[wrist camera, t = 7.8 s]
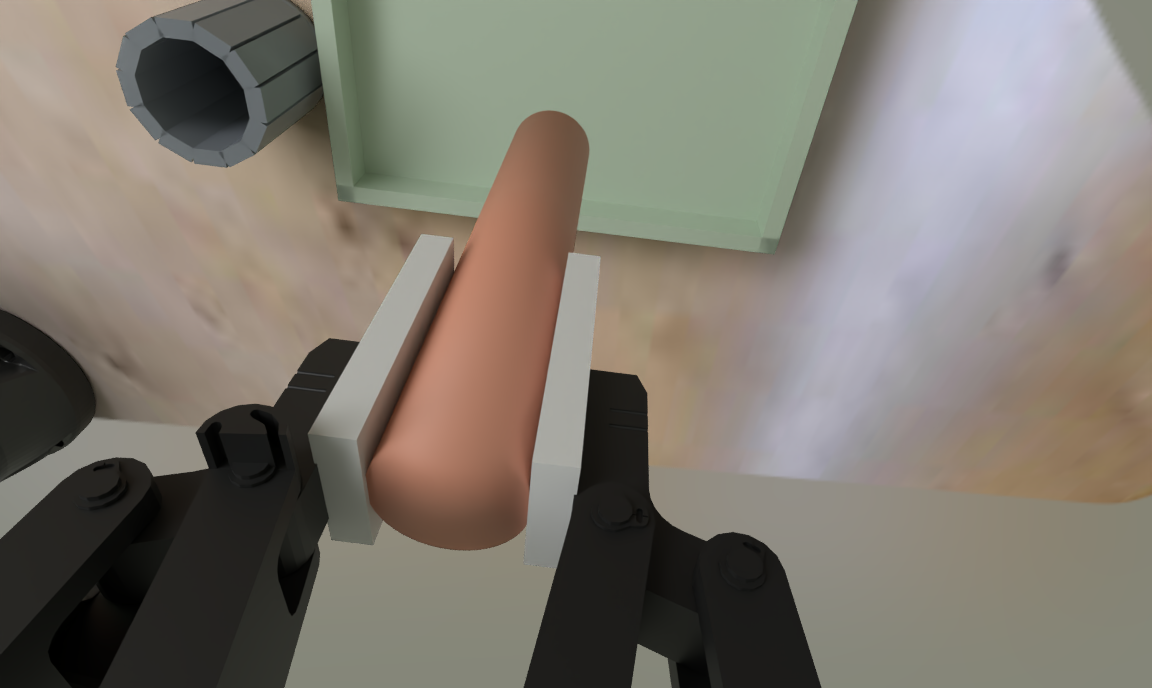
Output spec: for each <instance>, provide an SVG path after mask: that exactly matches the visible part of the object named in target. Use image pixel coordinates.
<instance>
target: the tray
mask: <svg viewBox="0 0 1152 688" xmlns="http://www.w3.org/2000/svg"><path fill="white" fill-rule="evenodd" d="M857 2H858V0H311V4H312V11H313V18H314V26H315V33H316V40H317V47H318V55H319V62H320V69H321V77H322V84H323V91H324V98H325V106H326V113H327V120H328V127H329V135H330V142H331V149H332V157H333V164H334V171H335V178H336V186H337V193H338V200H339V201H346V202H354V203H362V204H370V205H378V206H386V207H394V208H402V209H411V210H419V211H427V212H435V213H443V214H451V215H459V216H467V217H475V218H478V217H479V215H480V212H481V210H482V208H483V206H484V203H485V201H486V199H487V196H488V194H489V192H490V190H491V187H492V185H493V183H494V181H495V178H496V176H497V174H498V171H499V169H500V167H501V165H502V162H503V160H504V158H505V156H506V153H507V151H508V149H509V146H510V144H511V142H512V140H513V137H514V135H515V133H516V130H517V129H518V127H519V125H520V124H521V123H522V122H523V121H524V120H525V119H526V118H527V117H529V116H530V115H532V114H534V113H537V112H540V111H547V110H551V111H558V112H562V113H565V114H567V115H569V116H570V117H572V118H573V119H575V120H576V121H577V122H578V123H579V124H580V125H581V127H582V128H583V130H584V131H585V133H586V135H587V138H588V142H589V149H590V150H589V159H588V165H587V171H586V178H585V184H584V190H583V196H582V202H581V208H580V214H579V221H578V227H577V230H580V231H589V232H597V233H605V234H613V235H621V236H629V237H637V238H645V239H653V240H661V241H669V242H678V243H686V244H694V245H702V246H710V247H718V248H726V249H734V250H742V251H750V252H758V253H767V254H775V251H776V248H777V245H778V242H779V239H780V236H781V233H782V230H783V227H784V224H785V221H786V218H787V214H788V211H789V208H790V205H791V202H792V199H793V196H794V193H795V190H796V187H797V184H798V181H799V178H800V175H801V172H802V169H803V166H804V163H805V160H806V157H807V154H808V151H809V148H810V145H811V141H812V138H813V135H814V132H815V129H816V126H817V123H818V120H819V117H820V114H821V111H822V108H823V105H824V102H825V99H826V96H827V93H828V90H829V87H830V84H831V81H832V78H833V75H834V71H835V68H836V65H837V62H838V59H839V56H840V53H841V50H842V47H843V44H844V41H845V38H846V35H847V32H848V29H849V26H850V23H851V20H852V17H853V14H854V11H855V8H856V5H857Z"/></svg>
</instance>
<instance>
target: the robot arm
mask: <svg viewBox="0 0 1152 688" xmlns="http://www.w3.org/2000/svg"><path fill="white" fill-rule="evenodd" d="M600 258H601V256H593V255H585V254H578V253H570V252H569V253H568V259H567V265H566V271H565V276H564V282H563V288H562V293H561V299H560V305H559V311H558V316H557V322H556V328H555V333H554V339H553V345H552V351H551V356H550V362H549V368H548V373H547V379H546V385H545V391H544V396H543V402H542V408H541V414H540V419H539V425H538V431H537V436H536V442H535V448H534V454H533V459H532V468H531V480H530V492H529V504H528V516H527V529H526V540H525V552H524V564H526V565H535V566H542V567H550V568H557V569H556V573H555V576H554V580H553V583H552V587H551V591H550V594H549V598H548V601H547V605H546V609H545V612H544V616H543V619H542V623H541V627H540V630H539V634H538V638H537V641H536V645H535V648H534V652H533V656H532V659H531V663H530V666H529V670H528V674H527V678H526V681H525V684H524V688H631V684H632V677H633V671H634V664H635V657H636V650H637V643H638V644H640V645H642V646H644V647H646V648H648V649H650V650H652V651H654V652H656V653H659V654H661V655H662V656H664V657H667V658H668V664H669V671H670V678H671V685H672V688H821V685H820V682H819V678H818V675H817V672H816V669H815V666H814V662H813V659H812V656H811V653H810V650H809V646H808V643H807V640H806V637H805V634H804V630H803V627H802V624H801V621H800V618H799V615H798V611H797V608H796V605H795V602H794V599H793V595H792V592H791V589H790V586H789V583H788V580H787V576H786V573H785V570H784V568H783V566H782V565H781V563H780V561H779V559H778V557H777V555H776V554H775V553H773V552H772V551H771V550H770V549H769V548H768V547H767V546H766V545H765V544H764V543H762V542H760V541H758V540H757V539H755V538H753V537H751V536H749V535H745V534H740V533H734V532H731V533H723V534H718V535H716V536H714V537H713V538H711V539H710V540H708V541H705V540H702V539H700V538H698V537H695V536H693V535H691V534H688V533H686V532H684V531H682V530H680V529H678V528H676V527H674V526H672V525H671V524H670V523H669V522H667V521H666V520H665V519H664V518H663V517H662V516H661V515H660V514H659V513H658V511H657V510H656V509H655V507H654V505H653V503H652V501H651V498H650V493H649V467H648V432H647V431H648V416H647V413H648V407H647V392H646V390H645V389H644V387H643V385H642V383H641V382H640V380H639V378H638V376H637V375H630V374H622V373H614V372H606V371H598V370H591V369H590V365H591V354H592V343H593V333H594V322H595V311H596V301H597V290H598V279H599V268H600ZM453 274H454V240H453V238H450V237H442V236H434V235H426V234H421V236H420V237H419V239H418V241H417V243H416V244H415V246H414V248H413V250H412V252H411V253H410V255H409V257H408V259H407V260H406V262H405V264H404V266H403V267H402V269H401V271H400V273H399V274H398V276H397V278H396V280H395V281H394V283H393V285H392V287H391V288H390V290H389V292H388V294H387V295H386V297H385V299H384V301H383V302H382V304H381V306H380V308H379V309H378V311H377V313H376V315H375V317H374V318H373V320H372V322H371V324H370V325H369V327H368V329H367V331H366V332H365V334H364V336H363V338H362V339H361V341H360V342H355V341H347V340H339V339H331V338H329V339H328V340H326V341H325V342H323V343H322V344H321V345H319V346H318V347H316V348H315V349H314V350H312V351H311V352H309V354H308V355H307V357H306V358H305V360H304V361H303V363H302V364H301V366H300V367H299V369H298V370H297V371H298V372H297V374H295V375H294V376H293V378H292V379H291V381H290V382H289V384H288V388H287V389H285V390H284V392H283V393H282V395H281V396H280V398H279V399H278V401H277V402H276V404H275V405H274V407H271V406H266V405H260V404H248V405H238V406H235V407H232V408H229V409H226V410H223V411H220V412H219V413H217V414H216V415H214V416H212V417H211V418H209V419H208V420H206V421H205V422H204V423H203V424H202V426H201V427H200V428H199V429H198V430H197V432H196V435H197V438H198V440H199V443H200V446H201V448H202V451H203V454H204V456H205V459H206V461H207V464H208V467H209V469H204V470H199V471H195V472H187V473H179V474H171V475H164V476H156V477H153V475H152V473H151V472H150V470H149V469H148V467H147V466H146V464H145V463H142V462H140V461H138V460H135V459H133V458H112V459H106V460H101V461H97V462H94V463H92V464H90V465H88V466H85V467H83V468H81V469H78V470H77V471H75V472H74V473H73V474H71V475H70V476H69V477H67V478H66V479H64V480H63V481H62V482H61V483H60V484H58V485H57V486H56V487H55V488H54V489H53V490H52V491H51V492H50V493H49V494H48V495H47V496H46V497H45V498H44V499H43V500H41V501H40V502H39V503H38V504H37V505H36V506H35V507H34V508H33V509H32V510H31V511H30V512H29V513H28V514H27V515H25V517H23V518H22V519H21V520H20V521H19V522H18V523H17V524H16V525H15V526H14V527H13V528H12V529H11V530H10V531H9V532H7V533H6V534H5V535H4V536H3V537H2V538H1V539H0V688H284V687H285V683H286V680H287V676H288V673H289V669H290V666H291V662H292V659H293V655H294V652H295V648H296V645H297V641H298V638H299V634H300V631H301V627H302V623H303V620H304V617H305V613H306V610H307V606H308V603H309V599H310V596H311V592H312V589H313V585H314V582H315V578H316V574H317V571H318V567H319V560H320V559H319V558H320V551H319V547H318V541H319V539H320V537H321V535H322V532H323V530H324V528H325V526H326V524H327V522H328V527H329V531H330V536H331V540H335V541H344V542H351V543H360V544H367V545H373V544H374V542H375V539H376V537H377V534H378V531H379V529H380V526H381V523H382V521H383V519H381V518H380V517H379V515H378V514H377V513H376V512H375V511H374V509H373V508H372V506H371V505H370V501H369V495H368V488H367V482H366V472H367V470H368V467H369V465H370V463H371V461H372V458H373V456H374V454H375V451H376V449H377V447H378V445H379V442H380V440H381V438H382V436H383V433H384V431H385V429H386V426H387V424H388V422H389V420H390V417H391V415H392V413H393V410H394V408H395V406H396V404H397V401H398V399H399V397H400V395H401V392H402V390H403V388H404V385H405V383H406V381H407V379H408V376H409V374H410V372H411V370H412V367H413V365H414V363H415V360H416V358H417V356H418V354H419V351H420V349H421V347H422V344H423V342H424V340H425V338H426V335H427V333H428V331H429V329H430V326H431V324H432V322H433V319H434V317H435V315H436V313H437V310H438V308H439V306H440V303H441V301H442V299H443V297H444V294H445V292H446V290H447V288H448V285H449V283H450V281H451V278H452V276H453ZM94 412H95V399H94V395H93V391H92V389H91V386H90V384H89V382H88V380H87V378H86V377H85V375H84V374H83V372H82V371H81V369H80V368H79V367H78V366H77V364H76V363H75V362H74V361H73V360H72V359H71V357H70V356H69V355H68V354H67V353H66V352H65V351H64V350H63V349H61V348H60V347H59V346H58V345H57V344H56V343H55V342H53V341H52V340H51V339H50V338H48V337H47V336H46V335H44V334H43V333H41V332H40V331H38V330H37V329H35V328H34V327H32V326H31V325H29V324H27V323H26V322H24V321H22V320H20V319H18V318H17V317H15V316H13V315H11V314H9V313H6V312H4V311H2V310H0V482H1V481H3V480H5V479H7V478H9V477H11V476H13V475H14V474H16V473H18V472H20V471H22V470H24V469H26V468H27V467H29V466H31V465H33V464H34V463H36V462H38V461H40V460H41V459H43V458H44V457H46V456H47V455H49V454H52V453H55V452H57V451H59V450H61V449H62V448H64V447H66V446H67V445H68V444H70V443H71V442H72V441H73V440H74V439H75V438H76V437H77V436H78V435H79V434H80V433H81V431H83V430H84V429H85V428H86V427H87V425H88V424H89V423H90V422H91V420H92V418H93V416H94Z"/></svg>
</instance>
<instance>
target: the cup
mask: <svg viewBox="0 0 1152 688" xmlns="http://www.w3.org/2000/svg"><path fill="white" fill-rule="evenodd" d="M125 34H126V35H125V36H123V39H122V44H121V48H120V52H119V56H118V60H117V64H116V67H117V68H119V69H118V70H116V72H117V75H118V78H119V81H120V84H121V87H122V90H123V93H124V96H125V99H126V103H127V106H131V107H133V108H131V109H130V111H131V112H132V113H133V114H134V115H135V117H136V118H137V119H138V120H139V121H140V123H141V124H142V125H143V126H144V127H145V129H146V130H147V131H148V132H149V133H150V135H151V136H152V137H153V138H154V139H155V140H157V139H159V138H160V139H159V144H161V145H162V146H164V147H166V148H168V149H169V150H171V151H173V152H174V153H176V154H178V155H179V156H181V157H183V158H185V159H186V160H188V161H190V162H192V161H194V163H195V164H202V165H210V166H218V167H226V168H227V167H228V166H229V167H231V166H233V165H235V164H237V163H239V162H241V161H243V160H245V159H247V158H249V157H251V156H253V155H255V154H256V153H257V152H259V151H260V150H261V149H263V148H264V147H265V146H266V145H268V144H269V143H270V142H271V141H273V140H274V139H275V138H276V137H278V136H279V135H280V134H282V133H283V132H284V131H285V130H287V129H288V128H289V127H290V126H292V125H293V124H294V123H295V122H297V121H298V120H299V119H300V118H302V117H303V116H304V115H306V114H307V113H308V112H309V111H311V110H312V109H313V108H314V107H315V106H316V105H317V103H318V102H319V100H320V99H321V98H322V96H323V95H324V91H323V84H322V77H321V69H320V62H319V55H318V47H317V40H316V33H315V26H314V24H313V22H312V21H311V20H310V19H309V17H308V16H307V15H306V14H305V13H304V12H303V11H302V10H301V9H300V8H299V7H298V6H296V5H295V4H294V3H293V2H291V1H290V0H201V1H198V2H195V3H192V4H189V5H186V6H183V7H180V8H177V9H175V10H172V11H169V12H166V13H163V14H160V15H157V16H154V17H151V18H149V19H148V20H146V21H144V22H143V23H141V24H140V25H138V26H136V27H135V28H133V29H132V30H130V31H128V32H127V33H125Z"/></svg>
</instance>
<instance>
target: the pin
mask: <svg viewBox="0 0 1152 688" xmlns="http://www.w3.org/2000/svg"><path fill="white" fill-rule="evenodd" d="M589 150H590V149H589V142H588V138H587V135H586V133H585V131H584V130H583V128H582V127H581V125H580V124H579V123H578V122H577V121H576V120H575V119H573V118H572V117H570V116H569V115H567V114H565V113H562V112H558V111H551V110H547V111H540V112H537V113H534V114H532V115H530V116H529V117H527V118H526V119H525V120H524V121H523V122H522V123H521V124H520V125H519V127H518V129H517V130H516V133H515V135H514V137H513V140H512V142H511V144H510V146H509V149H508V151H507V153H506V156H505V158H504V160H503V162H502V165H501V167H500V169H499V171H498V174H497V176H496V178H495V181H494V183H493V185H492V187H491V190H490V192H489V194H488V196H487V199H486V201H485V203H484V206H483V208H482V210H481V212H480V215H479V217H478V219H477V222H476V224H475V226H474V228H473V231H472V233H471V235H470V237H469V240H468V242H467V244H466V247H465V249H464V251H463V253H462V256H461V258H460V260H459V263H458V265H457V267H456V269H455V272H454V274H453V276H452V278H451V281H450V283H449V285H448V288H447V290H446V292H445V294H444V297H443V299H442V301H441V303H440V306H439V308H438V310H437V313H436V315H435V317H434V319H433V322H432V324H431V326H430V329H429V331H428V333H427V335H426V338H425V340H424V342H423V344H422V347H421V349H420V351H419V354H418V356H417V358H416V360H415V363H414V365H413V367H412V370H411V372H410V374H409V376H408V379H407V381H406V383H405V385H404V388H403V390H402V392H401V395H400V397H399V399H398V401H397V404H396V406H395V408H394V410H393V413H392V415H391V417H390V420H389V422H388V424H387V426H386V429H385V431H384V433H383V436H382V438H381V440H380V442H379V445H378V447H377V449H376V451H375V454H374V456H373V458H372V461H371V463H370V465H369V467H368V470H367V472H366V482H367V488H368V495H369V501H370V505H371V506H372V508H373V509H374V511H375V512H376V513H377V514H378V515H379V517H380V518H381V519H383V520H384V521H385V522H386V523H387V524H388V525H390V526H391V527H392V528H393V529H395V530H397V531H398V532H400V533H401V534H403V535H405V536H407V537H409V538H411V539H414V540H416V541H418V542H421V543H424V544H427V545H431V546H435V547H439V548H444V549H450V550H481V549H487V548H491V547H495V546H498V545H501V544H503V543H506V542H507V541H509V540H511V539H513V538H514V537H516V536H517V535H518V534H519V533H520V532H521V531H522V530H523V529H524V528H525V526H526V525H527V516H528V504H529V492H530V480H531V468H532V459H533V454H534V448H535V442H536V436H537V431H538V425H539V419H540V414H541V408H542V402H543V396H544V391H545V385H546V379H547V373H548V368H549V362H550V356H551V351H552V345H553V339H554V333H555V328H556V322H557V316H558V311H559V305H560V299H561V293H562V288H563V282H564V276H565V271H566V265H567V259H568V253H569V252H570V253H573V251H574V245H575V239H576V233H577V227H578V221H579V214H580V208H581V202H582V196H583V190H584V184H585V178H586V171H587V165H588V159H589Z"/></svg>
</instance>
